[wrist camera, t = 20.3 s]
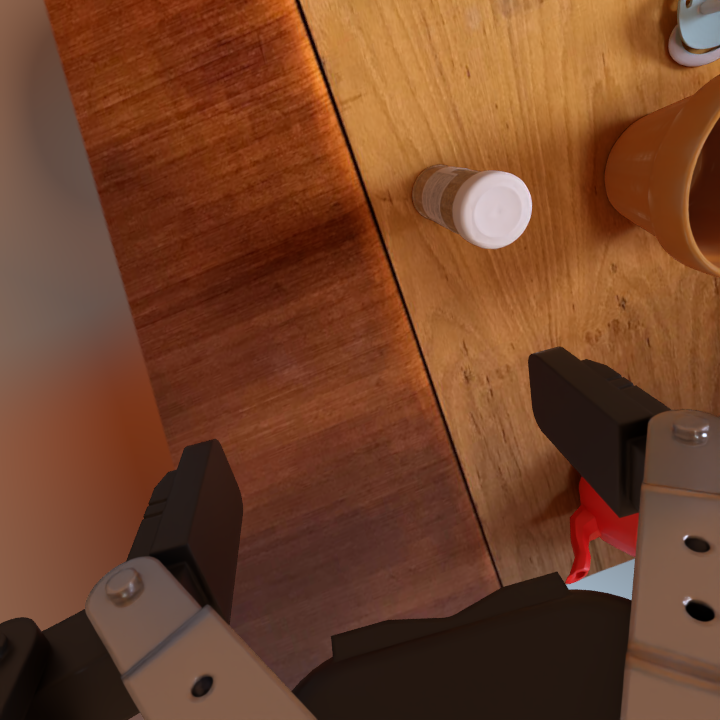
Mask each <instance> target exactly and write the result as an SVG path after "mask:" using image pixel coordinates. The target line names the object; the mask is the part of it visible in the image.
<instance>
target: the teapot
mask: <svg viewBox="0 0 720 720" xmlns="http://www.w3.org/2000/svg"><path fill="white" fill-rule="evenodd" d="M579 493H580V504H581V505H580V507H579V508H578V509H577V510H576V511H575V512H574V513H573V515H572V516H571V517H570V535H571V544H572V548H573V552H574V556H575V559H574V562H573V565H572V569H571V572H570V574H569V576H568V577H567V579H566V582H565V583H568V584H571V583H574V582H576V581H579V580H580V579H582V578H583V577H585V576H586V575H587V574H588V571H589V569H590V559H591V556H590V552H589V548H588V547H589V542H590V541H592V540H594V539H596V538H598V537H600V538H601V539H602V540H603V541H605V542H607V543H609V544H611V545H612V546H614V547H616V548H618V549H620V550H622V551H624V552H626V553H627V554H629V555H631V556H634V557H635V555H636V543H637V531H638V519H639V513H636V514H632V515H629V516H625V517H622V518H619V517H618V516H617V515H616V514H615V513H614V511H613V510H612V509H611V508H610V507H609V506H608V505H607V504H606V503H605V501H604V500H603V499H602V498H601V497H600V496H599V495H598V494H597V492H596V491H595V490H594V489H593V488H592V487H591V486H590V485H589V483H588V482H587V481H586V480H585V479H584V478H583V477H582V476H581V479H580V482H579Z"/></svg>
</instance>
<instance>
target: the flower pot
mask: <svg viewBox="0 0 720 720" xmlns="http://www.w3.org/2000/svg"><path fill="white" fill-rule="evenodd" d="M605 188H606V193H607V196H608V199H609V201H610V203H611V204H612V206H613V207H614V208H615V209H616V210H617V211H618V212H619V213H620V214H621V215H623V216H624V217H626V218H627V219H629V220H630V221H632V222H633V223H635V224H636V225H638V226H640V227H641V228H643V229H645V230H646V231H648V232H650V233H651V234H653V235H655V236H656V238H657V239H658V241H659V243H660V244H661V246H662V247H663V248H664V250H665V251H666V252H667V253H668V254H669V255H670V256H672V257H673V258H674V259H675V260H677V261H679V262H680V263H682V264H684V265H686V266H688V267H690V268H693V269H695V270H698V271H701V272H704V273H706V274H709V275H713V276H716V277H719V278H720V74H719V75H718V76H716V77H715V78H713V79H712V80H710V81H709V82H708V83H707V84H705V85H704V86H703V87H702V88H701V89H699V90H698V91H697V92H696V93H695V94H694V95H692V96H690V97H687V98H685V99H683V100H680V101H678V102H676V103H673V104H671V105H669V106H666V107H664V108H662V109H660V110H657V111H655V112H653V113H651V114H649V115H646V116H644V117H642V118H641V119H639V120H637V121H636V122H634V123H633V124H632V125H631V126H629V127H628V128H627V129H626V130H625V131H624V132H623V133H622V135H621V136H620V137H619V139H618V140H617V141H616V143H615V145H614V146H613V148H612V150H611V152H610V155H609V157H608V160H607V164H606V168H605Z"/></svg>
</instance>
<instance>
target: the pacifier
mask: <svg viewBox="0 0 720 720" xmlns="http://www.w3.org/2000/svg"><path fill="white" fill-rule="evenodd" d="M677 22H678V23H677V25H676V26H675V28H674V29H673V31H672V33H671V36H670V38H669V44H668V48H669V53H670V55H671V57H672V58H673V60H675V61H676V62H678V63H679V64H681V65H685V66H701V65H705V64H708V63H711V62H713V61H715V60H717V59H719V58H720V0H690V3H689V4H688V5H687V6H686V0H679V1H678V8H677ZM681 40H682V41H683V42H684V43H685V44H686V45H687V46H688V47H690V48H694V49H707V48H711V47H715V46H718V45H719V46H718V47H716V48H714V49H713V50H711V51H709V52H707V53H704V54H693V53H689V52H688V51H686V50H685V49H684V47H683V46H682V41H681Z"/></svg>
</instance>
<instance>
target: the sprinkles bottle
mask: <svg viewBox="0 0 720 720" xmlns="http://www.w3.org/2000/svg"><path fill="white" fill-rule="evenodd" d="M412 199H413V203H414V206H415V208H416V209H417V211H418V212H419V213H420V214H421V215H422V216H424V217H425V218H427V219H430V220H433V221H434V222H436V223H438V224H440V225H442V226H443V227H445V228H447V229H449V230H451V231H453V232H455V233H457V234H460V235H461V236H462V237H463V238H464V239H465V240H467V241H468V242H470V243H472V244H474V245H476V246H479V247H481V248H485V249H497V248H502V247H505V246H507V245H509V244H511V243H512V242H514V241H515V240H516V239H517V238H518V237H519V236H520V235H521V234H522V233H523V231H524V230H525V228H526V227H527V225H528V223H529V220H530V217H531V212H532V200H531V195H530V192H529V190H528V188H527V186H526V185H525V183H524V182H523V181H522V180H521V179H520V178H518V177H517V176H515V175H513V174H511V173H507V172H503V171H495V170H488V171H483V172H481V171H475V170H470V169H467V168H460V167H449V166H446V165H434V166H431V167H429V168H427V169H425V170H424V171H423V172H422V173H421V174H420V175H419V176H418V177H417V179H416V181H415V183H414V186H413V190H412Z"/></svg>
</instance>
